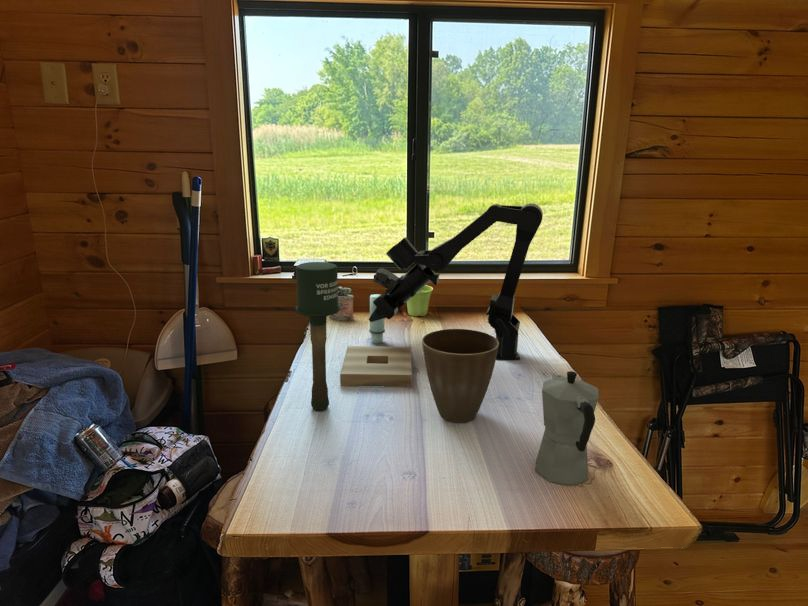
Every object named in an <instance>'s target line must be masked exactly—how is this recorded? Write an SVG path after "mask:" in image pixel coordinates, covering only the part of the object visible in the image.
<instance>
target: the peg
mask: <svg viewBox="0 0 808 606" xmlns="http://www.w3.org/2000/svg"><path fill="white" fill-rule="evenodd" d="M380 295H381V293H380V294H378V293H376V294H370V296H369V317H370V316H371V315H372V313H373V312H374V310H375V309H376V306H375V305H374V303H373V301H374V300H375V299H376V298H378V297H379V296H380ZM368 331H369V333H370V335H371V336H370V340H371V341H370V342H371V343H372V344H376V345H378V344H382V343H384V333H385V331H386V329H385V318H384V319H380V320H377V321H374V322H370V321H369V330H368Z"/></svg>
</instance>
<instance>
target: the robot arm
mask: <svg viewBox="0 0 808 606" xmlns="http://www.w3.org/2000/svg"><path fill="white" fill-rule="evenodd" d="M543 217H544V213H543V210H542V208H541V207H540V205H538V204H536V203H532V202H531V203H526V204H525V205H523V206H520V205H504V204H503V205H502V204H499V203H494V204H493V203H492V205H490V206H489V207H487V209H486V211H484V212H483V213H481V215H479V216H478V217H477V218H475V220H473V221H472V222H470V223H469V224H468V225H467V226H466V227H465V228H464V229H462V230H461V231H459V232H458V233H457V234H455V236H453V237H451V238H450V239H448V240H446V241H443V242H442V243H440V244H439V245H437V246H435V247H433V248H432V249H429V250H428V249H427V250H420V251H418V250H417V249H416V247H415V246H414V245H413V244H412V243H411V242H410V241H411V240H409V239H408V237H406V236H405V237H403V238H401V240H400V241H398V243H396V244H395V245H393V246H392V247H391V248H390V249H389V250H387V252H386V253H385V255H386V256H387V257H388V258H389V259H390V260H391V262H393V264H395V266H396V267H397V268H398V269H399V270H404V271H406V270H408V269H409V268H410V267H411V266H412V265H413V264H415V265H414V266H412V267H411V268H410V269H409V270H408V271H407V272H406V273H405V274H403V275H401V276H397V274H394V273H393V272H392V271H389V270H387V269H386V268H383V267H380V268H378V270H377V271H376V272H375V274H374V275H373V279H372V282H373V283H375V284H378V285H379V286H381V287H383V288H385V292H384V293H380V296H379V297H378V298H376V299H375V300H374V301H373V303H374V305H375V306H376V309H375V310H374V312H373V313H372V315H371V316H370V315H369V318H368V321H369V323H370V322H374V321H377V320H380V319H384V320H385V319H387V320H391V319H392V318H393V317H394V316H395V315H396V314H397V313H398V312H399V310H400V309H401V308H402V307H403V306H404V305H405V304H407V302H408V301H409V300H410V299H411V298H412V297H413V296H414V295H415V294H416V293H417V292H418V291H419V290H421V289H422V288H423V287H424V286H425V285H427V284H429V282H431V283H432V284H433V285H434V286H437V285H438V284H439V283H440V275H441V274H440V273H439V272H441V271H444V270H445V268H447V267H448V265H449V264H450V263H451V262H452V261H453V260H454V258H455V257H456V256H457V255H458V254H459V253H460V252H461V250H463V249H464V248H465V247H467V245H469V244H470V243H471V242H473V241H474V240H475V239H476V238H478V237H479V236H480V235H482V234H483V233H484V232H485V231H486V230H488V229H489V228H490V227H491V226H493V225H494V224H495V223H496V222H499V223H505V224H510V225H516V230H515V241H514V244H513V248H512V252H511V254H510V259H509V261H508V265H507V268H506V270H505V271H506V272H505V274H504V277H503V282H502V284H501V288H500V291H499V293H498V295H496V294H492V296H491V299H490V301H489V303H490V304H489V306H488V308H487V311H486V314H485V315H486V316H487V322H488V324H489V325H490V327H491V328H493V329H494V332H495V338H496V339H497V340H498V342H499V346H498V351H497V356H496V360H520V359H521V356H520V354H519V352H518V345H519V344H518V343H519V330H520V324H521V321H520V320H519V319H518V318H517V317H516V316H515V315H514V305H515V294H516V290H517V286H518V284H519V281H520V277H521V274H522V270H523V267H524V265H525V261H526V257H527V254H528V251H529V247H530V245H531V244H532V241H533V239H534V238H535V235H537V234H536V233H537V232H538V229H539V228H540V225H541V224H542V221H543Z"/></svg>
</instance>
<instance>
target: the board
mask: <svg viewBox="0 0 808 606" xmlns="http://www.w3.org/2000/svg"><path fill="white" fill-rule="evenodd" d="M411 352H412V349H411V346H378V345H377V346H369V345H366V346H364V345H362V346H361V345H353V346H352V345H347V346H346V350H345V355H344V357H343V362H342V365H341V369H340V373H339V384H340V385H339V387H358V386H379V387H378V388H381V387H380V386H384V387H383V388H412V381H413V380H412V379H413V376H412V375H413V374H412V373H413V372H412V353H411Z"/></svg>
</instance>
